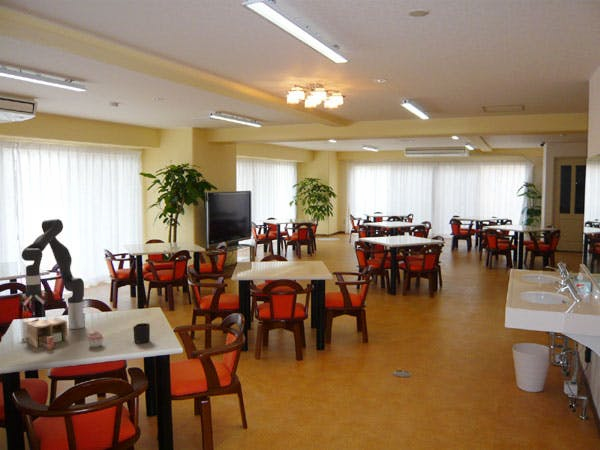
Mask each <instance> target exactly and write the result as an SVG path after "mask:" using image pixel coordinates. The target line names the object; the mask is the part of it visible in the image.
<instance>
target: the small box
mask: <svg viewBox="0 0 600 450" xmlns="http://www.w3.org/2000/svg"><path fill="white" fill-rule="evenodd" d="M34 321H40V319H39V318H28V319H26V320H23V321H22V323H21V324H22V338H23V339H28V336H27V323H29V322H34Z"/></svg>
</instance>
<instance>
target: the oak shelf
mask: <svg viewBox="0 0 600 450" xmlns="http://www.w3.org/2000/svg"><path fill="white" fill-rule="evenodd" d="M56 331H59V332H61V333H62V341H65V342H67V341H68V321H67V320H65V319H63V318H60V317H58V316H57V317H52V318H46V319H39V321H34V322H29V323H27V336H28V338H27V343H28V344H29V345H32V346H33V347H35V348H38V347H39V346H38V335H43V334H45V335H47V336H48V337H49V336H53V334H52V332H56Z"/></svg>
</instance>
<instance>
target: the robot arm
mask: <svg viewBox="0 0 600 450" xmlns="http://www.w3.org/2000/svg"><path fill="white" fill-rule="evenodd" d="M63 229H64V224H63V221H62V220H61V219H59V218H52V219H46V220H43V221H42V222H41V230H42V232H43V233H42V234H40V235H39V236H38V237H36V238H35V239H34V241H33V242H32V243H31V244H29V245H28V246H26V247H25V248H23V250H22V251H21V259H22V260H23V261H27V262H32V263H31V264H29V265H26V266H25V292H26V293H20V295H19V305H20V306H21V305H22V306H23V311H24V312H27V311H28V309H27V308H28V305H27V304H28V303H29V301H31V302H32V301H36V302H37V301H38V302H40V303H41V310H42V311H44V310H45V304H47V303H48V301H49V300H48V292H47V291H44V292H42V290H41V289H42V286H41V284H42V283H41V273H40V272H41V271H40V268H41V262H42V259H43V251H44V250H45V249H46V248H47V246H48V245H49V246H50V249H51V251H52V255H53V257H54V259H55V263H56V265H57V267H58V270H59V272H60V276H61V279H62V283H63V287H64V289H65V290H66V291H68V292H72V295H71V296H69V297H68V298H67V313H68V314H67V315H68V316H67V317H68V329H69V330H79V329H83V328H85V327H86V317H85V316H86V315H85V312H84V297H85V283H84V280H83V279H82V278H81V277H74V276H73V273H72V271H71V266H72V262H73V259H72V256H71V253H70V250H69V249H68V248H67V246H65V245H64V243H62V242H61V241H59V240H58V238H57V236H58V235H60V233H62V231H63ZM42 295H43V297H44V300H43V298H41V296H42ZM24 298H26V300H25V301H24V302H23V300H24Z"/></svg>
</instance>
